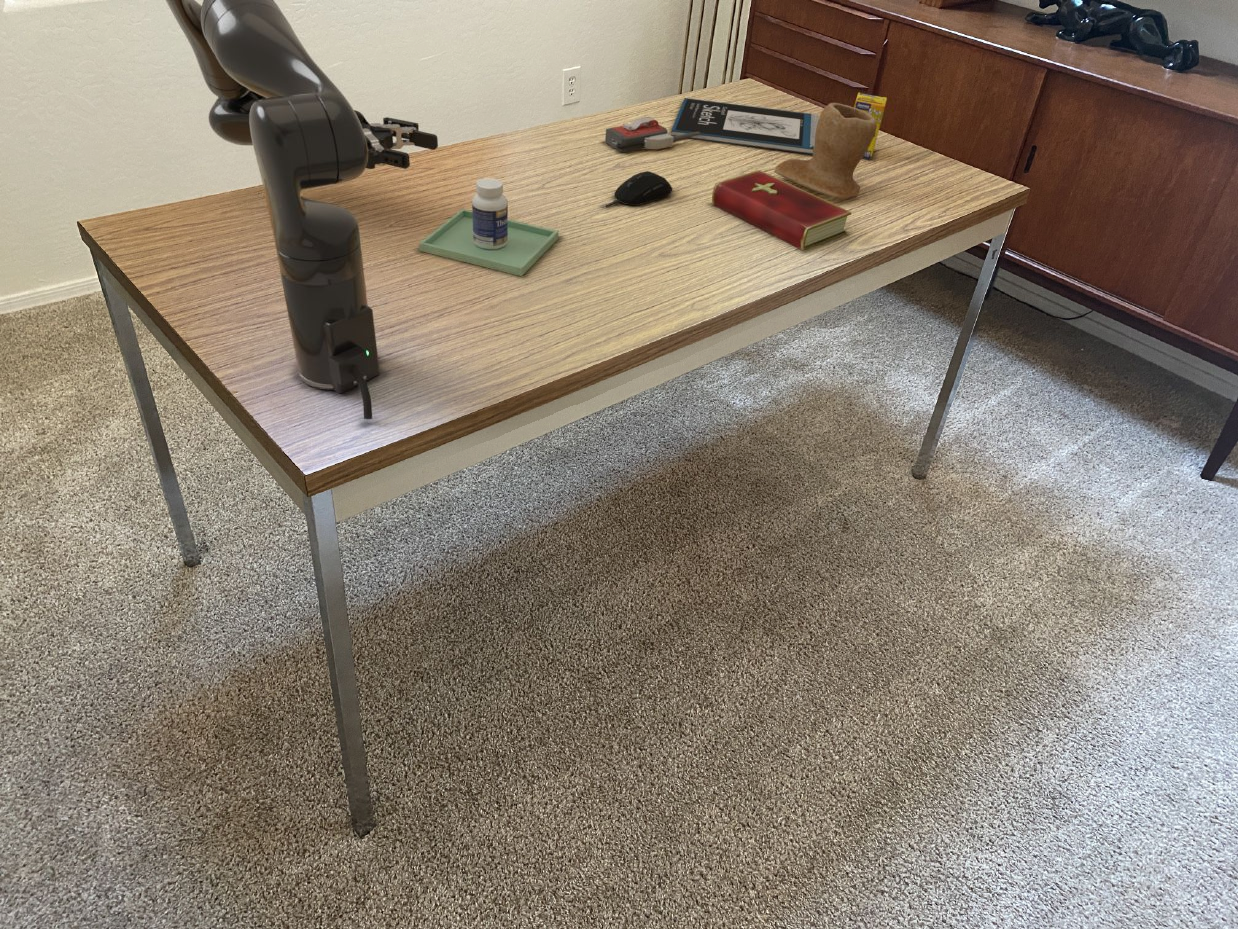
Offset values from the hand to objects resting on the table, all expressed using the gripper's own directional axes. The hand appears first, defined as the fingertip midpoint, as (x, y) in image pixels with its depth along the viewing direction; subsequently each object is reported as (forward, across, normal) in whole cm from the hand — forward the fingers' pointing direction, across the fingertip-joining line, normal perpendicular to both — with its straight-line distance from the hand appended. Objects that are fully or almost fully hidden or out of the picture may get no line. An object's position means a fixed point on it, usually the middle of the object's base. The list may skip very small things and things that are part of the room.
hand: (422, 151), depth 136 cm
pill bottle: (+11, 0, +12) cm, 17 cm away
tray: (+11, 0, +12) cm, 17 cm away
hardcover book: (+51, +32, +13) cm, 61 cm away
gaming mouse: (+26, +28, +13) cm, 41 cm away
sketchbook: (+35, +74, +13) cm, 83 cm away
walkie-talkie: (+20, +55, +13) cm, 60 cm away
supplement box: (+59, +73, +13) cm, 95 cm away
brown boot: (+55, +51, +13) cm, 76 cm away
